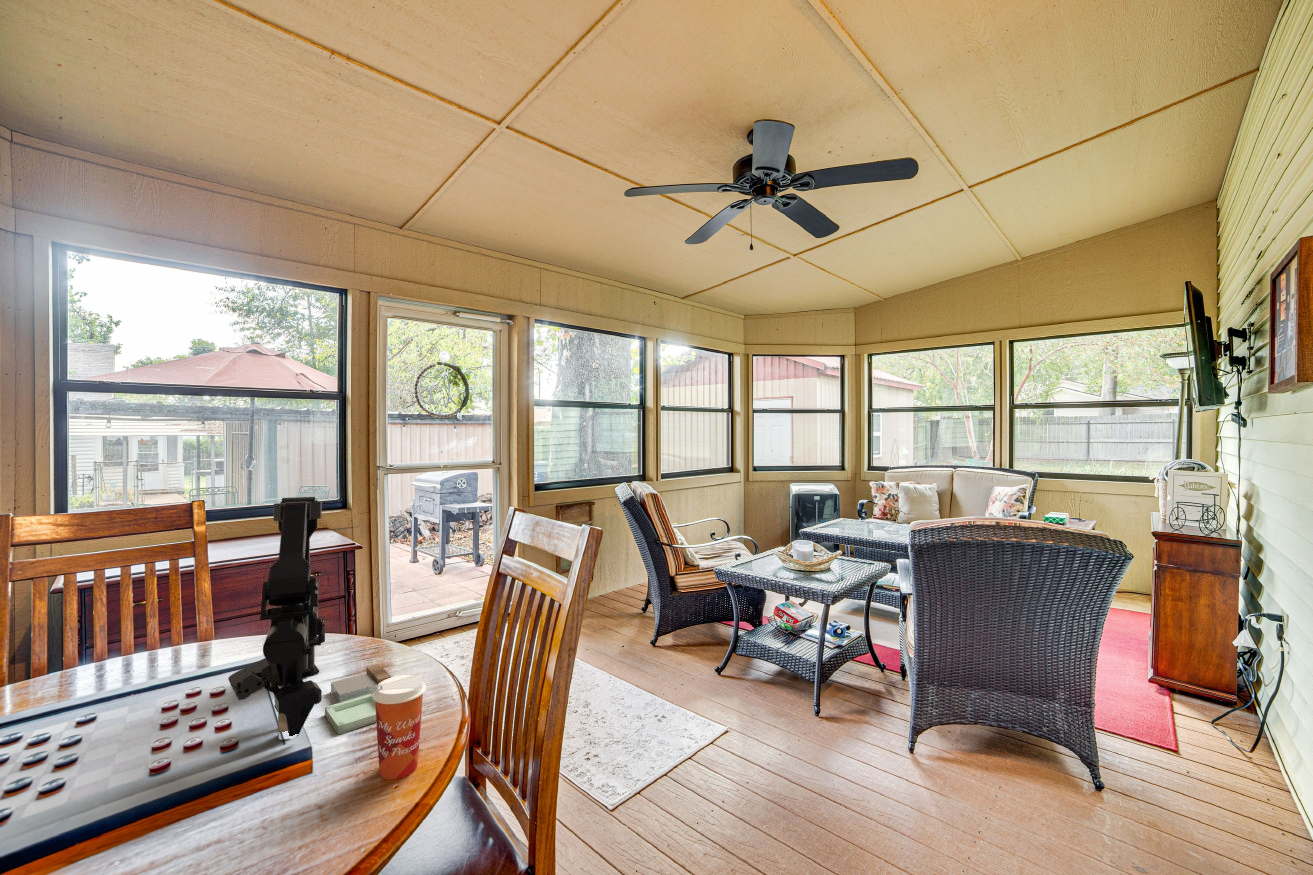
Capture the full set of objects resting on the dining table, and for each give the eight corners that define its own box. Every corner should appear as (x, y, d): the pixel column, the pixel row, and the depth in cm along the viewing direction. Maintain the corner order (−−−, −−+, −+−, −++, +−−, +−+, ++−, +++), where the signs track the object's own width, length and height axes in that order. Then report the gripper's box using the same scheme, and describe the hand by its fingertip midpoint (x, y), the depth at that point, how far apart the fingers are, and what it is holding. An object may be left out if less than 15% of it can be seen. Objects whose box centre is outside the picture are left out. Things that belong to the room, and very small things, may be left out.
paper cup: (372, 789, 86) (373, 699, 86) (371, 762, 93) (372, 678, 93) (427, 775, 90) (428, 689, 89) (423, 750, 97) (423, 669, 96)
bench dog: (366, 680, 122) (366, 666, 122) (378, 677, 123) (378, 663, 123) (378, 693, 116) (378, 679, 116) (391, 690, 118) (391, 676, 118)
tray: (324, 714, 107) (324, 707, 107) (375, 699, 114) (375, 692, 114) (338, 734, 101) (338, 726, 101) (390, 717, 107) (390, 709, 107)
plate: (330, 694, 116) (330, 682, 116) (367, 684, 121) (367, 672, 121) (339, 707, 111) (339, 694, 111) (377, 696, 116) (377, 684, 116)
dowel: (276, 734, 100) (276, 701, 100) (297, 728, 103) (297, 695, 103) (279, 742, 98) (280, 708, 98) (301, 735, 100) (301, 702, 100)
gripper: (225, 638, 101) (225, 724, 102) (241, 673, 88) (241, 771, 88) (297, 624, 109) (297, 703, 109) (322, 654, 95) (322, 744, 96)
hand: (288, 728), depth 100 cm, fingers open, 7 cm apart
